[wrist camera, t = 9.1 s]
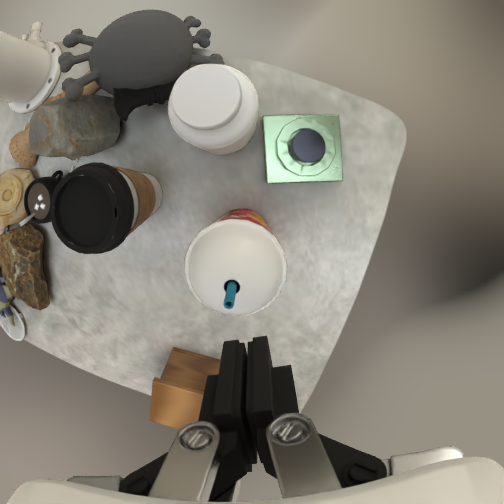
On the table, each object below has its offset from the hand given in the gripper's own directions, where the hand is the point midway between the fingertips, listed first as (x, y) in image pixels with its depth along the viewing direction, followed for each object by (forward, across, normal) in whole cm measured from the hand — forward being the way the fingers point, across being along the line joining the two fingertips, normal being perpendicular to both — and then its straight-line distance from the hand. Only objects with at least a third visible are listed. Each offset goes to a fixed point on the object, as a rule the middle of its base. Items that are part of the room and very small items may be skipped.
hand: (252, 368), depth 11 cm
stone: (+20, +23, -19) cm, 36 cm away
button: (+23, -7, -9) cm, 26 cm away
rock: (+23, +30, -2) cm, 38 cm away
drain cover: (+26, +49, +9) cm, 56 cm away
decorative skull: (+23, +10, -30) cm, 39 cm away
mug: (+27, +25, -12) cm, 39 cm away
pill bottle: (+27, +1, -14) cm, 30 cm away
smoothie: (+27, +2, 0) cm, 27 cm away
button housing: (+27, -7, -9) cm, 29 cm away
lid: (+19, +12, +22) cm, 31 cm away
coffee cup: (+27, +13, -7) cm, 31 cm away
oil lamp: (+25, +38, -11) cm, 46 cm away
